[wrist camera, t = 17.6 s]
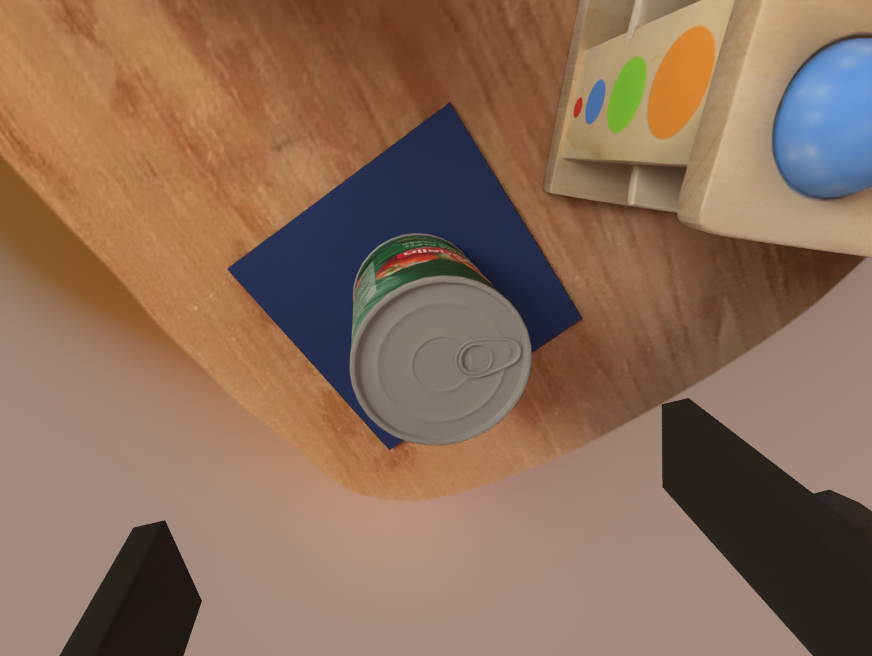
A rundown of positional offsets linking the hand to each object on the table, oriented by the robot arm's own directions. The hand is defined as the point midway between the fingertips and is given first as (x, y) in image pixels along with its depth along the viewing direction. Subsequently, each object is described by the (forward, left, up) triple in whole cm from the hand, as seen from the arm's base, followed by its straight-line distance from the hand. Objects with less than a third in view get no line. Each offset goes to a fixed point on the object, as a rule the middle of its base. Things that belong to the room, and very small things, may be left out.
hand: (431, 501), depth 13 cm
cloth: (+1, +1, -20) cm, 20 cm away
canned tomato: (+1, +1, -20) cm, 20 cm away
